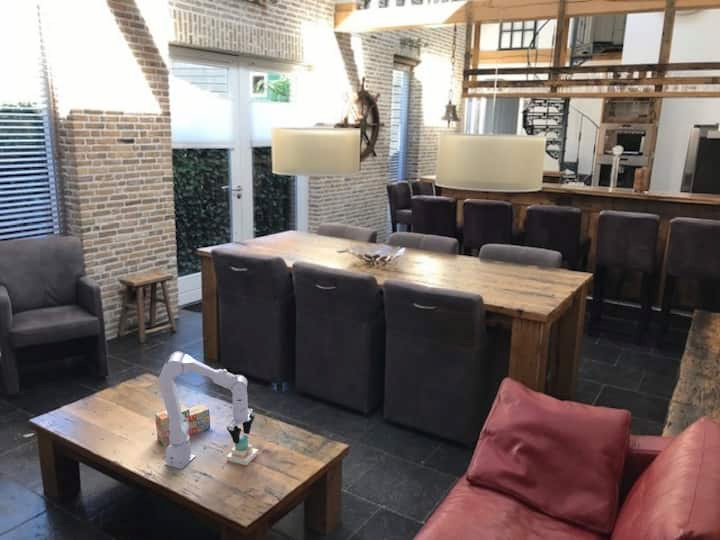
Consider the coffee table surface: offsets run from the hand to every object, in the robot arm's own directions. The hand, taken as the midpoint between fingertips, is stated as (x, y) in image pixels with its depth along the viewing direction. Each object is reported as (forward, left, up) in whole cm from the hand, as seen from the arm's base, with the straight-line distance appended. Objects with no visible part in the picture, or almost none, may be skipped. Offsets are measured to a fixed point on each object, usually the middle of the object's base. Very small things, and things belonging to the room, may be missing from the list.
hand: (241, 438), depth 236 cm
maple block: (0, 0, -7) cm, 7 cm away
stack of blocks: (+6, +32, -9) cm, 34 cm away
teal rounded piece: (0, 0, -4) cm, 4 cm away
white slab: (0, 0, -9) cm, 9 cm away
